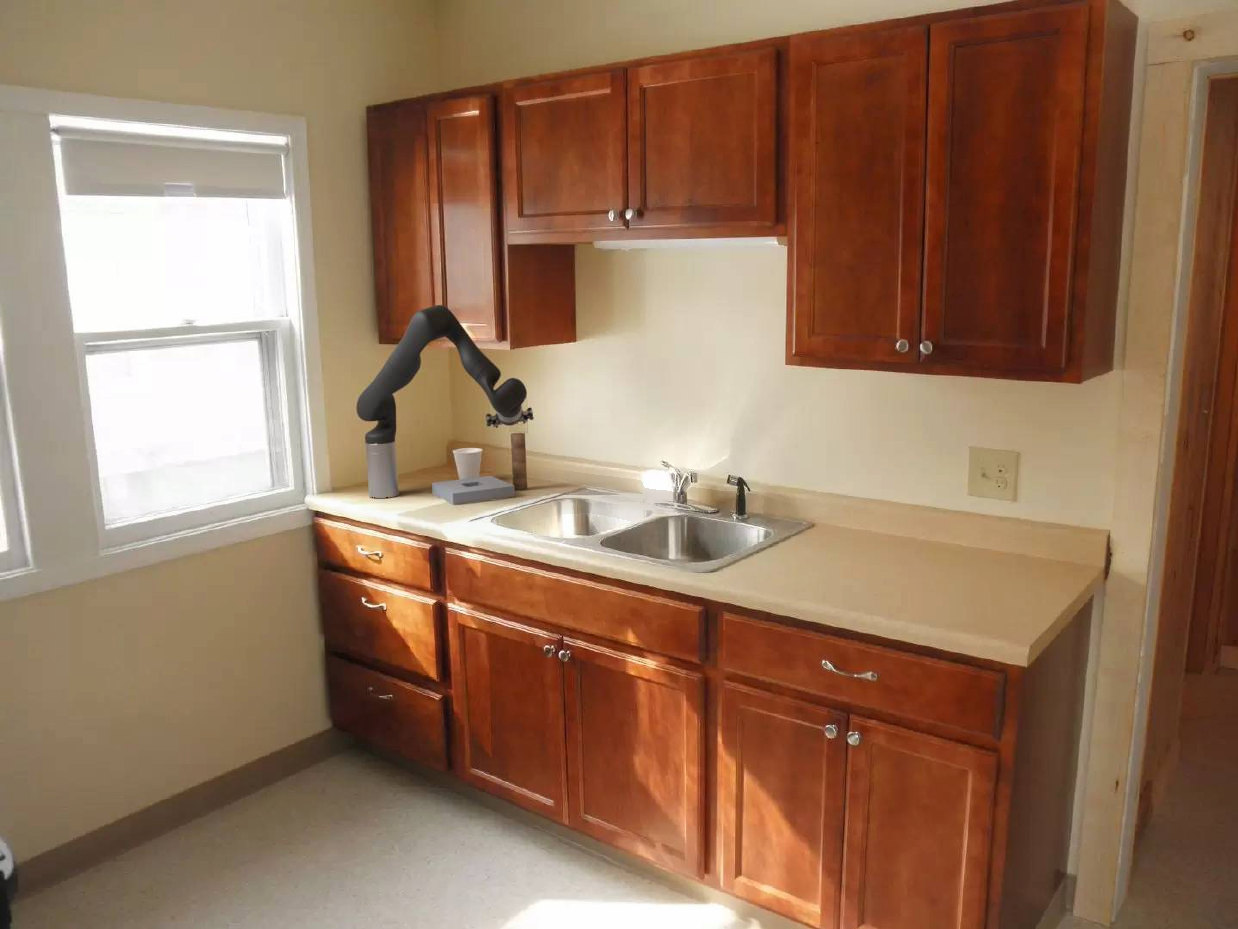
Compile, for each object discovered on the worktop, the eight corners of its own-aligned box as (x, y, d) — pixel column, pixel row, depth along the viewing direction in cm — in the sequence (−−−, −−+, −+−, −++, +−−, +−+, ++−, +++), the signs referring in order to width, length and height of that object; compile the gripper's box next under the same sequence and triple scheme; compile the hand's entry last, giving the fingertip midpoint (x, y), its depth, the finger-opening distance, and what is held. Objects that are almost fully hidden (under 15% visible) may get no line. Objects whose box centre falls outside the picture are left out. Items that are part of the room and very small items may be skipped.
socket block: (432, 493, 327) (431, 482, 327) (491, 486, 337) (490, 475, 336) (453, 504, 310) (452, 493, 309) (514, 496, 319) (514, 485, 319)
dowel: (511, 488, 332) (508, 433, 328) (523, 487, 334) (521, 432, 330) (516, 491, 328) (513, 435, 324) (529, 489, 330) (527, 434, 326)
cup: (474, 478, 350) (472, 446, 348) (489, 482, 343) (488, 450, 341) (448, 482, 344) (446, 450, 342) (464, 487, 337) (462, 453, 335)
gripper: (531, 394, 303) (531, 407, 319) (483, 401, 301) (485, 414, 317) (535, 418, 302) (534, 430, 318) (486, 425, 300) (488, 437, 316)
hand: (510, 422), depth 317 cm, fingers open, 8 cm apart
